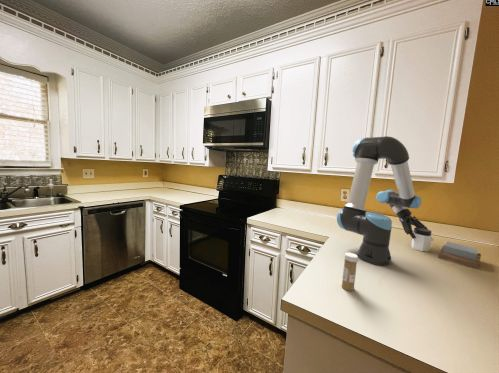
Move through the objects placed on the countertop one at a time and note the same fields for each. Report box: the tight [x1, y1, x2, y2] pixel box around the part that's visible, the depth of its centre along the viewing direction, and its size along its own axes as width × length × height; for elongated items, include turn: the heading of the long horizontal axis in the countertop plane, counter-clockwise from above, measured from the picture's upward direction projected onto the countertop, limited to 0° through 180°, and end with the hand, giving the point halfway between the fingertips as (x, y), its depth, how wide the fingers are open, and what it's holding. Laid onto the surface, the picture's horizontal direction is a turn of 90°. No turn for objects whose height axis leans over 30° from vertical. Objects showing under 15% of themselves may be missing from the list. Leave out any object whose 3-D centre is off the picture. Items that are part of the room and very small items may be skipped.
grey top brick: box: [443, 241, 479, 260], centre depth 114 cm, size 12×12×4 cm
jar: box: [410, 227, 433, 252], centre depth 127 cm, size 9×8×12 cm
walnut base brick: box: [437, 244, 482, 270], centre depth 115 cm, size 15×15×4 cm
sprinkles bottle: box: [341, 252, 359, 292], centre depth 81 cm, size 5×5×13 cm
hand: (425, 242), depth 125 cm, fingers open, 12 cm apart
